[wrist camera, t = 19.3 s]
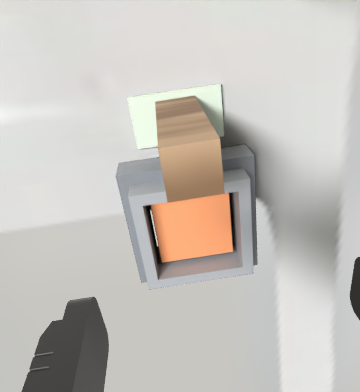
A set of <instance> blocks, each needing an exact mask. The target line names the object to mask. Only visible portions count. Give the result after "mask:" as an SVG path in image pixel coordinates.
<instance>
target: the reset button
mask: <svg viewBox="0 0 360 392" xmlns="http://www.w3.org/2000/svg"><path fill="white" fill-rule="evenodd" d="M151 209H152V214H153V219H154V224H155V230H156V235H157V240H158V245H159V250H160V255H161V261H162V263H163V262H169V261H176V260H182V259H189V258H195V257H202V256H208V255H215V254H222V253H228V252H233V246H232V232H231V217H230V203H229V193H225V194H220V195H214V196H207V197H201V198H195V199H188V200H182V201H176V202H170V203H168V202H165V203H159V204H152V205H151Z"/></svg>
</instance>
